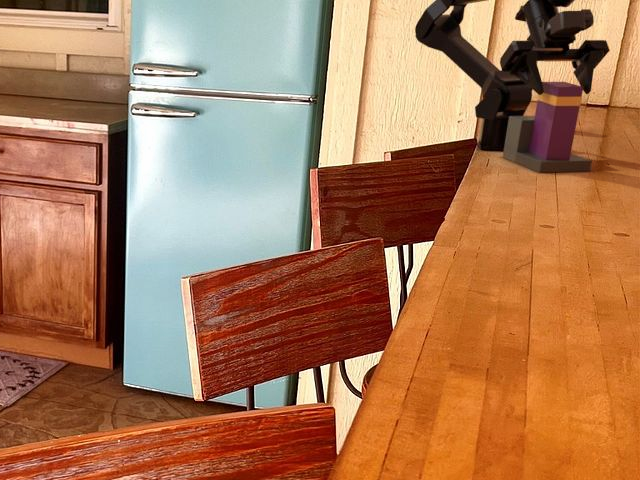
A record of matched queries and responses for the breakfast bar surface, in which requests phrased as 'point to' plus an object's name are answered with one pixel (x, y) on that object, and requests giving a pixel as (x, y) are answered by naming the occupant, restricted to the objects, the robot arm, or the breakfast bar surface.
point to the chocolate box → (555, 120)
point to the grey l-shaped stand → (520, 154)
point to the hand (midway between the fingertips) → (565, 93)
